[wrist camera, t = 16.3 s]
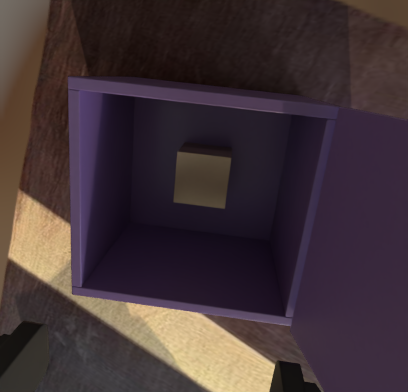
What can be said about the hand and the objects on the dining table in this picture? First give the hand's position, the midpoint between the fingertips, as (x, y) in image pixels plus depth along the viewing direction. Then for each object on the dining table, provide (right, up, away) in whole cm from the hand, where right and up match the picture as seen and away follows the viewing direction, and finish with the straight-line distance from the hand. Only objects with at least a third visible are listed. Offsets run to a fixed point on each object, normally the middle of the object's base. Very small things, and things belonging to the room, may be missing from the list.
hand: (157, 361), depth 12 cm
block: (+2, +9, +26) cm, 27 cm away
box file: (+2, +9, +26) cm, 28 cm away
